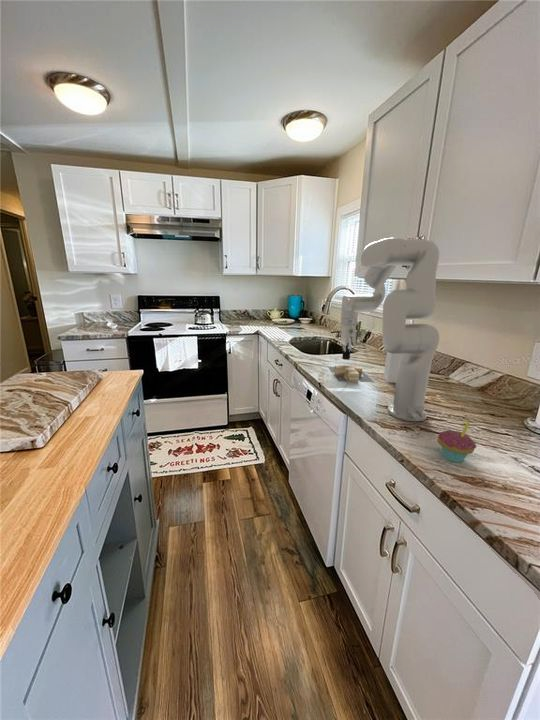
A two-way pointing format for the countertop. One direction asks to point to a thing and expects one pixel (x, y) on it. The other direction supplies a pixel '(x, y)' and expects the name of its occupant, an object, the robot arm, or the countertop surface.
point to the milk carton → (392, 367)
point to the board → (342, 379)
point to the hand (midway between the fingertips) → (345, 359)
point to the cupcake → (456, 444)
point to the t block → (348, 372)
